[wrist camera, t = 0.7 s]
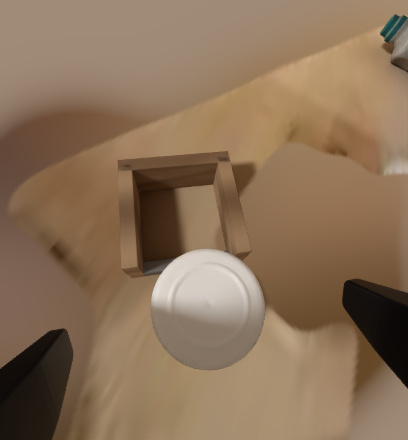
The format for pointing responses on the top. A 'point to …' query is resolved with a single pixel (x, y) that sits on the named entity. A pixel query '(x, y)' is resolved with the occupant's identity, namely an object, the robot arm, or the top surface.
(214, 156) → the cradle
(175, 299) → the sprinkles bottle
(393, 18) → the crushed plastic bottle
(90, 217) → the top surface
